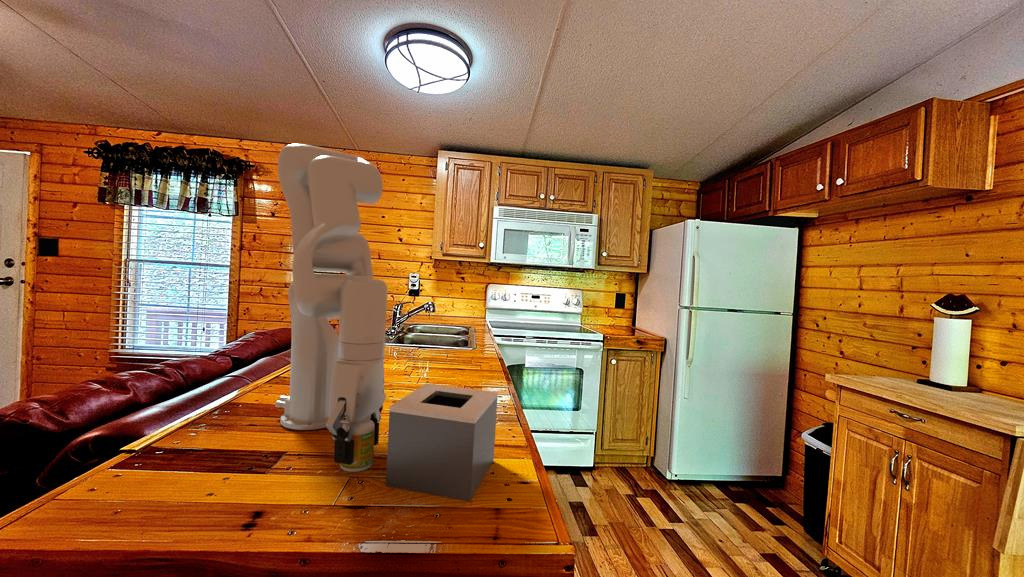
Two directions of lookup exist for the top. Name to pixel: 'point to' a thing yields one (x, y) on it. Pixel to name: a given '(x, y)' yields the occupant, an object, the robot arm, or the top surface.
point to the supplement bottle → (361, 445)
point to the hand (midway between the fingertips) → (357, 452)
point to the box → (441, 440)
